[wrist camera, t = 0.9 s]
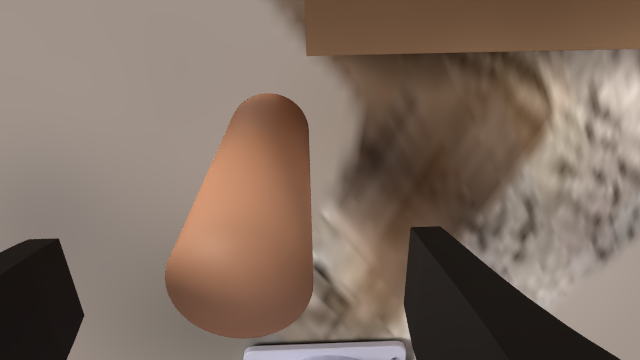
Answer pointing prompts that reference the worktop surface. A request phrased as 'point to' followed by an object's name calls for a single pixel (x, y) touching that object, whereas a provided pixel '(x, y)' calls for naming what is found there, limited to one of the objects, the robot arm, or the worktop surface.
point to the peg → (249, 227)
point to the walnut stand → (468, 26)
